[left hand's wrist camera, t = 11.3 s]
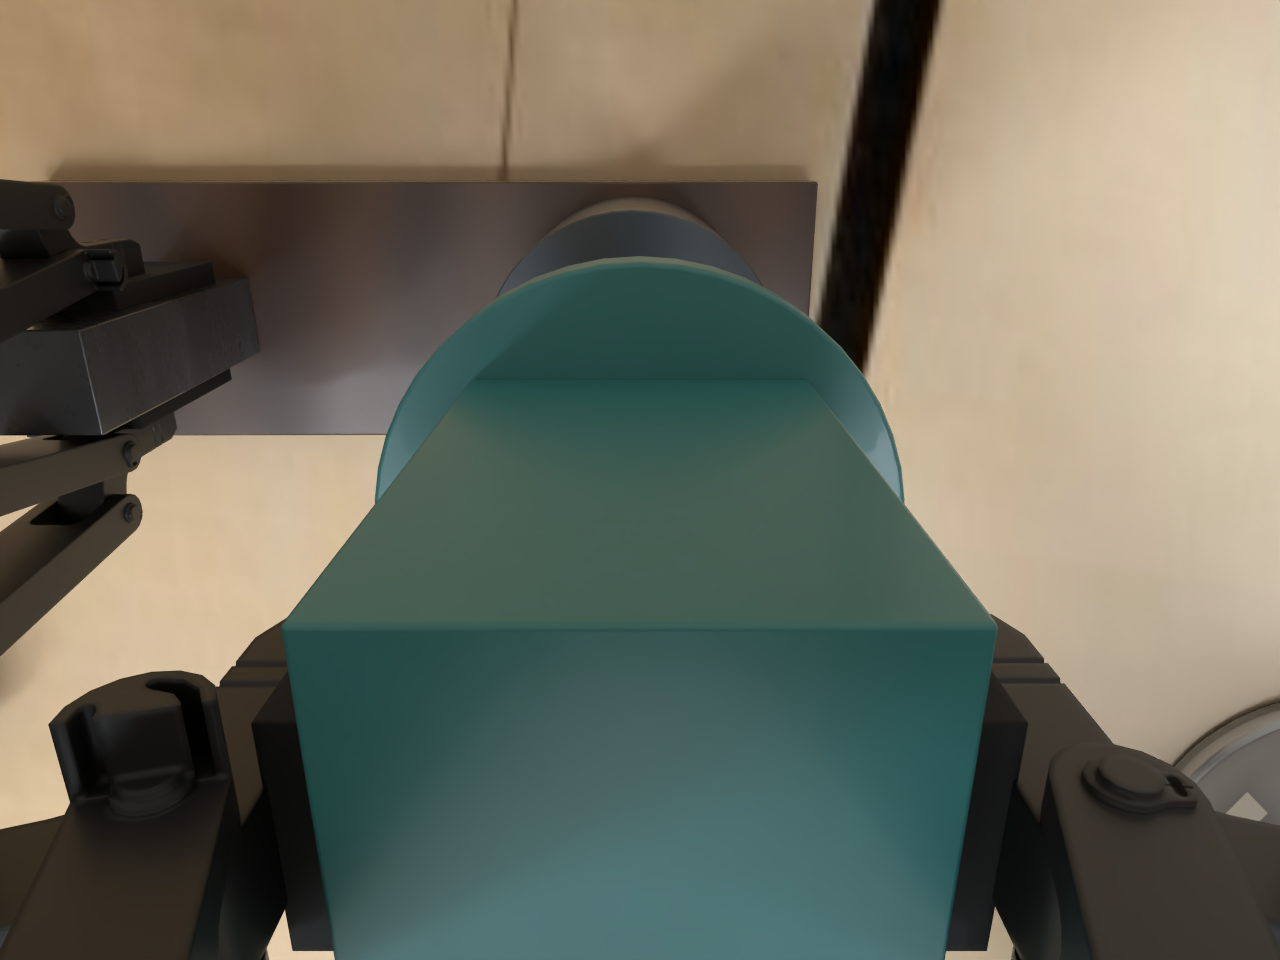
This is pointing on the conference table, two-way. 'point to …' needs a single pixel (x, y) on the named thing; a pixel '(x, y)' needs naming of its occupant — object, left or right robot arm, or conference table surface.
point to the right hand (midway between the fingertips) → (185, 322)
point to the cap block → (639, 647)
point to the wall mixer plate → (353, 288)
